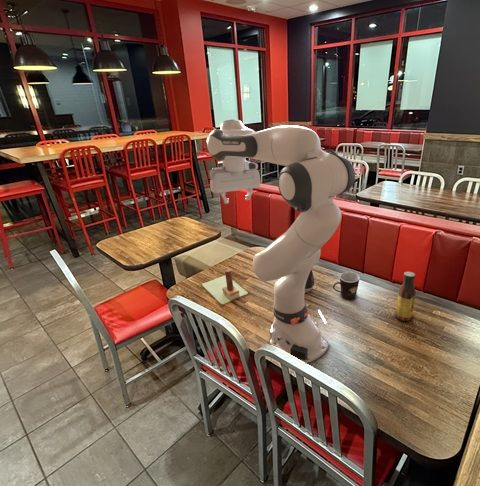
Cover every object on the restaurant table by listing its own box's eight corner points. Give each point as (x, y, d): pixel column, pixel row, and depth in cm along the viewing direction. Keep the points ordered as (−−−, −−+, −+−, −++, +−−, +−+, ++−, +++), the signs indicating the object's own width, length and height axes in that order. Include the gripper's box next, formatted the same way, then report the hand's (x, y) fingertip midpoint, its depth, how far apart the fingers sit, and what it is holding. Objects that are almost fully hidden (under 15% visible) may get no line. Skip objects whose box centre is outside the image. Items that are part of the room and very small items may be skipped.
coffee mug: (356, 290, 144) (358, 272, 140) (359, 301, 136) (361, 282, 132) (331, 290, 145) (332, 271, 141) (332, 301, 137) (333, 282, 133)
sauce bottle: (413, 322, 122) (420, 279, 114) (396, 321, 124) (402, 278, 115) (410, 312, 128) (417, 270, 120) (394, 311, 129) (400, 269, 121)
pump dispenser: (315, 295, 142) (315, 266, 135) (292, 296, 142) (292, 267, 136) (313, 283, 151) (313, 255, 145) (292, 284, 152) (291, 256, 145)
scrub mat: (248, 294, 146) (248, 293, 145) (221, 305, 138) (221, 304, 138) (226, 275, 162) (226, 274, 162) (201, 285, 155) (201, 284, 154)
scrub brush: (239, 296, 143) (236, 271, 138) (230, 300, 141) (226, 275, 135) (232, 289, 149) (229, 265, 143) (222, 293, 146) (219, 269, 140)
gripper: (212, 168, 110) (216, 206, 115) (261, 164, 121) (263, 199, 125) (205, 167, 115) (209, 204, 120) (253, 163, 126) (255, 196, 130)
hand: (237, 201), depth 123 cm, fingers open, 8 cm apart
